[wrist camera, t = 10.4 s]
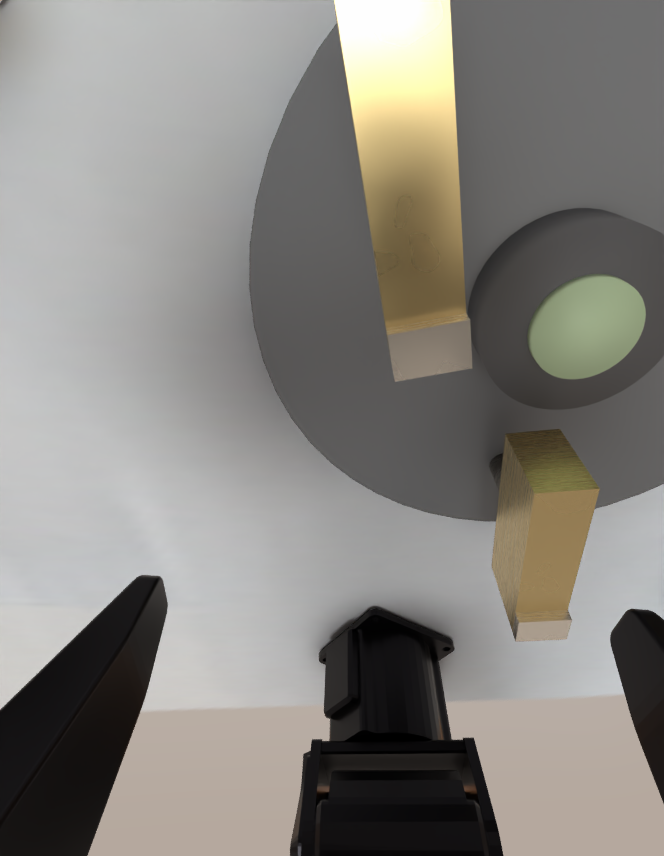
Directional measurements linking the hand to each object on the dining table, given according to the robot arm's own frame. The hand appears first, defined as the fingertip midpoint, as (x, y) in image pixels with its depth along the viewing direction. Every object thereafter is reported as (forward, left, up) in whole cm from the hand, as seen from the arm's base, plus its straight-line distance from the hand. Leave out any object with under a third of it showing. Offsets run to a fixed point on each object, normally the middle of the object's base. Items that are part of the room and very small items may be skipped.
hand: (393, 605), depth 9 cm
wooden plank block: (+3, -5, -10) cm, 12 cm away
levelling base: (-4, -5, -11) cm, 13 cm away
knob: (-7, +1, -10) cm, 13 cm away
